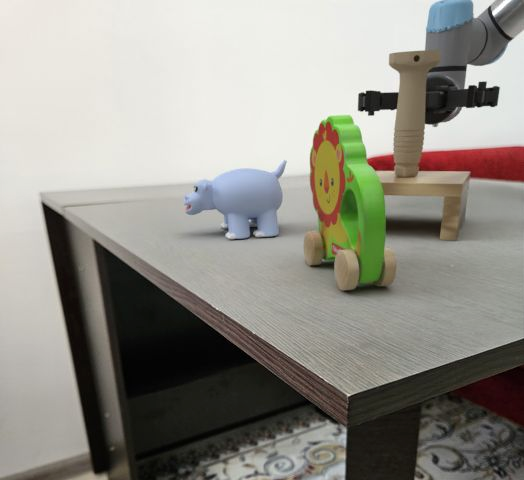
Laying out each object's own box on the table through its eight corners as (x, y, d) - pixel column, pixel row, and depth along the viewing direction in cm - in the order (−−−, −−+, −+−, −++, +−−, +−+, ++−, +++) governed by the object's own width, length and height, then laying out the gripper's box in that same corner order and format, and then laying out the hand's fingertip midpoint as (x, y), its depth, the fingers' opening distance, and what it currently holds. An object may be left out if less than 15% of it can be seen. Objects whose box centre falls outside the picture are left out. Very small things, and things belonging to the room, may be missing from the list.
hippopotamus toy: (185, 228, 80) (179, 162, 76) (281, 221, 82) (280, 157, 78) (187, 243, 70) (180, 169, 66) (296, 235, 72) (295, 163, 68)
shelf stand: (464, 220, 78) (470, 171, 75) (456, 240, 67) (462, 183, 64) (359, 216, 84) (361, 170, 81) (334, 234, 73) (335, 181, 70)
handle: (432, 177, 70) (444, 49, 64) (383, 178, 71) (390, 52, 65) (427, 173, 74) (438, 53, 68) (381, 174, 75) (387, 56, 69)
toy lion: (399, 291, 49) (412, 113, 43) (344, 297, 48) (349, 115, 42) (338, 252, 63) (342, 114, 57) (295, 256, 62) (294, 116, 56)
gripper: (512, 122, 86) (512, 126, 68) (362, 125, 95) (328, 130, 78) (519, 70, 83) (522, 61, 65) (364, 79, 92) (329, 73, 74)
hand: (417, 99), depth 71 cm, fingers open, 13 cm apart
